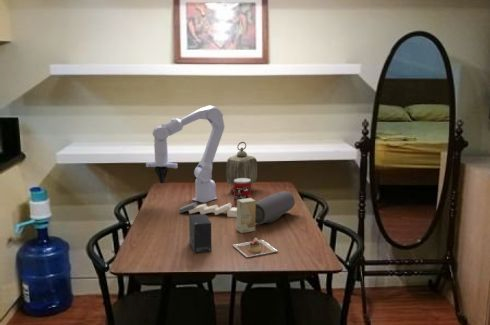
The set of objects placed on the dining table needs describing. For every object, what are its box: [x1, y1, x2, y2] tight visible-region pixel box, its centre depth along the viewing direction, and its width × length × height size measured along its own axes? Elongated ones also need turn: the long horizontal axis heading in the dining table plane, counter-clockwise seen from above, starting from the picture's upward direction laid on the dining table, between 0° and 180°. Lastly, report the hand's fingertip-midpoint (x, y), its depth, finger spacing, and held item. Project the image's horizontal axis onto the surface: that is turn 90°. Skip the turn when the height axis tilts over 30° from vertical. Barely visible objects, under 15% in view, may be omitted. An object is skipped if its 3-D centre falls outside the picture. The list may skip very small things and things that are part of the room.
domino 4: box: [213, 202, 233, 216], centre depth 205 cm, size 2×4×7 cm
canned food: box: [233, 178, 252, 206], centre depth 219 cm, size 8×8×11 cm
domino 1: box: [178, 201, 198, 214], centre depth 208 cm, size 2×4×7 cm
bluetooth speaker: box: [255, 190, 296, 225], centre depth 197 cm, size 23×9×10 cm, turn 145°
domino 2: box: [188, 202, 208, 215], centre depth 207 cm, size 2×4×7 cm
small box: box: [188, 214, 213, 254], centre depth 168 cm, size 11×6×10 cm, turn 17°
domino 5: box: [226, 206, 237, 214], centre depth 204 cm, size 2×4×7 cm
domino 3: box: [199, 204, 219, 215], centre depth 205 cm, size 2×4×7 cm
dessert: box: [232, 237, 279, 258], centre depth 166 cm, size 12×12×5 cm
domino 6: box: [226, 213, 237, 218], centre depth 203 cm, size 2×4×7 cm
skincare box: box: [236, 197, 257, 234], centre depth 184 cm, size 6×4×12 cm
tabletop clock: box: [225, 141, 258, 194], centre depth 238 cm, size 14×9×25 cm, turn 144°
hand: (162, 182), depth 218 cm, fingers closed
